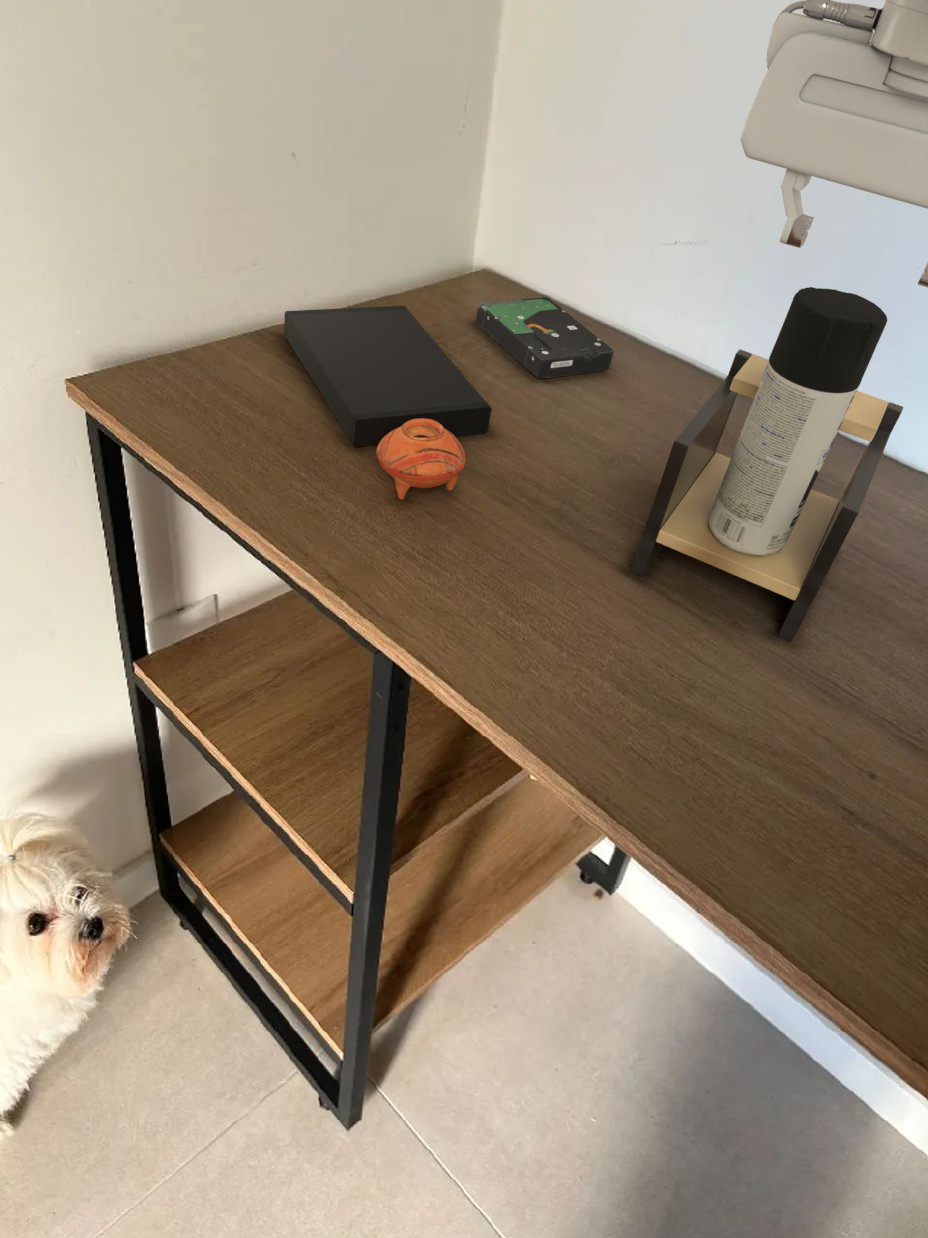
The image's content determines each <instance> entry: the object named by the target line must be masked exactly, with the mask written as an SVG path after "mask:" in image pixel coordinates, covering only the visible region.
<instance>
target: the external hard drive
mask: <svg viewBox="0 0 928 1238" xmlns="http://www.w3.org/2000/svg"><path fill="white" fill-rule="evenodd" d="M283 323H284V326H283V328H284V329H283V335H284V337H285V338H286V340H287V342H288V344H289V345H290V346H291V347H290V348H291V349H292V350H293V351H294V353H295V355H296V356H297V358H298V359H299V361H300V363H301V364H302V366H303V367H304V369H305V371H306V372H307V374H308V375H309V377H310V379H311V380H312V382H313V383H314V385H315V387H316V388H317V390H318V391H319V393H320V394H321V396H322V398H323V400H324V401H325V402H326V404H327V405H328V407H329V409H330V411H331V412H332V414H333V416H334V417H335V418H336V420H337V421H338V423H339V425H340V426H341V428H342V429H343V432H344V433H345V435H346V436H347V437H348V439H349V441H350V442H351V444H352V445H353V447H354V448H364V447H373V446H378V445H379V443H380V441H381V440H382V439H383V438H384V437H385V436H386V435H387V434H388V433H390V432H391V431H393V430H394V429H396V428H399V427H401V426H402V425H403V424H404V423H406V422H408V421H409V420H412V419H420V418H424V419H432V420H435V421H437V422H438V423H440V424H441V425H442V426H443V428H445V429H447V430H448V431H449V432H451V433H452V434H453V435H454V436H455V437H456V438H457V437H466V436H475V435H484V434H486V433H488V431H489V426H490V420H491V415H492V407H491V406H490V405H489V403H488V402H487V401H486V399H484V397H483V396H482V395H481V394H480V392H479V391H478V390H477V389H476V388H475V386H474V385H473V384H472V383H471V382H470V381H469V380H468V379H467V377H466V376H465V374H463V373H462V371H460V369H459V368H458V367H457V366H456V365H455V363H454V362H453V361H452V359H450V357H449V356H448V354H446V353H445V352H444V351H443V349H442V348H441V347H440V345H438V343H437V342H436V341H435V339H433V337H432V335H430V334H429V332H428V331H427V330H426V329H425V328H424V326H423V325H422V324H421V323H420V322H419V321H418V320H417V319H416V316H414V315H413V313H411V312H410V310H409V309H408V308H407V307H406V305H387V306H385V305H384V306H366V307H346V308H345V307H344V308H342V307H341V308H324V309H323V308H322V309H321V308H320V309H302V310H301V309H300V310H286V311H285V312H284V322H283Z"/></svg>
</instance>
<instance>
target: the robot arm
mask: <svg viewBox="0 0 928 1238" xmlns="http://www.w3.org/2000/svg"><path fill="white" fill-rule="evenodd" d="M801 9H802V14H801V13H796V12H794V11H797V10H801ZM771 29H772V30H771V32H770V35H769V39H768V42H767V45H766V49H765V63H766V64H765V65H766V67H767V70H766V72H765V75H764V77H763V79H762V81H761V83H760V86H759V88H758V89H757V92H756V95H755V97H754V99H753V101H752V104H751V106H750V109H749V111H748V113H747V116H746V119H745V122H744V125H743V128H742V131H741V134H740V143H741V146H742V149H743V152H744V155H745V157H746V158H748V159H751V160H755V161H759V162H761V163H765V164H768V165H772V166H775V167H779V168H782V169H786V170H785V173H784V177H783V179H782V182H781V185H780V189H781V194H782V200H783V205H784V207H783V208H784V212H785V216H786V217H787V218H786V221H785V224H784V227H783V229H782V232H781V236H780V238H779V243H781V244H783V245H788V246H790V247H791V246H792V247H794V248H798V249H801V248H802V247H803V246H804V244H805V242H806V241H807V238H808V235H809V232H808V231H809V230H810V228H811V227H812V226H813V225H812V224H813V222H814V219H815V217H814V216H811V215H808V214H805V213H804V210H803V209H804V208H803V203H802V194H801V191H802V190H804V188H806V187H807V186H809V184H810V181H811V178H812V177H814V178H818V179H821V180H825V181H828V182H832V183H835V184H839V185H843V186H846V187H850V188H854V189H857V190H860V191H863V192H868V193H871V194H875V195H878V196H882V197H884V198H887V199H892V200H896V201H899V202H903V203H905V204H910V205H913V206H917V207H920V208H923V209H927V210H928V0H884V4H883V6H882V8H877V7H873V6H868V5H864V4H858V3H849V2H848V3H847V2H841V1H835V0H799V1H795V2H793V3H790V4H789V5H787V6H786V7H785V8H784V9H783V10H782V11H781V12H780V13H779V14H778V16H777V18H776V19H775V20H774V23H773V26H772V28H771ZM917 285H919V286H921V287H924V288H928V262H926V265H925V266H924V270H923V272H922V273H921V276H920V277H919V280H918V282H917Z"/></svg>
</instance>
